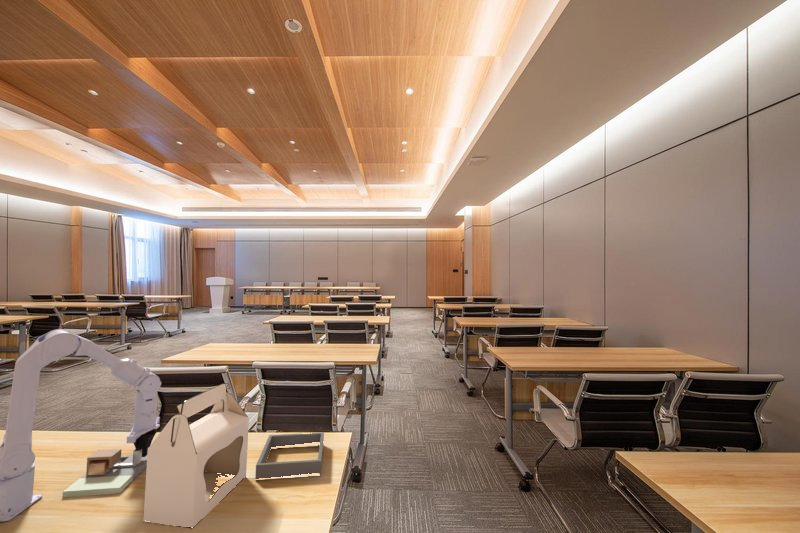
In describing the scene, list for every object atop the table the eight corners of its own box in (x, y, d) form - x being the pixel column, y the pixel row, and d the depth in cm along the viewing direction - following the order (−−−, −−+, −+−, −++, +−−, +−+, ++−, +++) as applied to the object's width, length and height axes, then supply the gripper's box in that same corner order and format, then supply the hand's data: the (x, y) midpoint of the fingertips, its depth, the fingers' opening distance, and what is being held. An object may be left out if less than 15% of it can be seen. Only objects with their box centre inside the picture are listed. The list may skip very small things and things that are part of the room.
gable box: (206, 472, 103) (211, 378, 104) (246, 476, 101) (251, 381, 103) (141, 523, 81) (148, 404, 82) (191, 530, 79) (198, 408, 81)
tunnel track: (119, 493, 92) (121, 468, 92) (62, 497, 89) (64, 472, 90) (154, 458, 109) (156, 438, 110) (108, 461, 107) (109, 440, 107)
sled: (129, 474, 98) (130, 458, 98) (87, 477, 96) (88, 461, 96) (144, 460, 105) (145, 446, 105) (105, 462, 103) (106, 448, 104)
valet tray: (320, 476, 102) (321, 461, 103) (255, 481, 99) (256, 465, 99) (323, 445, 122) (323, 432, 122) (268, 448, 118) (269, 435, 118)
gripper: (146, 420, 100) (143, 467, 99) (170, 403, 114) (168, 444, 114) (119, 421, 99) (116, 469, 98) (147, 403, 113) (144, 445, 112)
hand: (142, 456), depth 106 cm, fingers closed
